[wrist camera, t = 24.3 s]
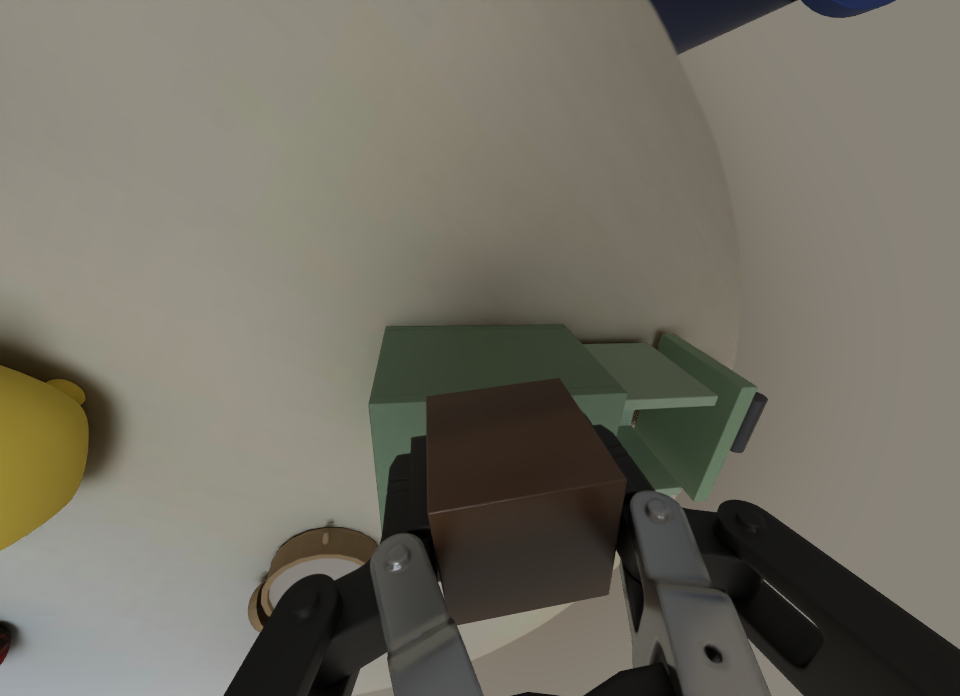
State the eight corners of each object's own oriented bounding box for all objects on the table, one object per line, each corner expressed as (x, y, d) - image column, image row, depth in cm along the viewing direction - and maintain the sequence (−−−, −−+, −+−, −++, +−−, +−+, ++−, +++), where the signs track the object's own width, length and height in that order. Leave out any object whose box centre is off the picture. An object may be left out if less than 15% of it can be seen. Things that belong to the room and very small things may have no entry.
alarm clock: (406, 573, 37) (320, 676, 38) (403, 536, 41) (326, 629, 42) (304, 536, 32) (211, 654, 34) (313, 498, 37) (231, 603, 38)
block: (425, 395, 12) (426, 514, 8) (560, 376, 12) (628, 479, 8) (442, 493, 14) (450, 627, 10) (556, 474, 14) (609, 595, 10)
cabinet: (563, 324, 30) (628, 392, 21) (546, 433, 35) (592, 528, 26) (385, 326, 28) (368, 404, 19) (394, 442, 33) (383, 550, 24)
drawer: (718, 332, 32) (815, 384, 24) (684, 426, 36) (756, 496, 29) (523, 335, 29) (561, 395, 21) (512, 437, 34) (540, 517, 26)
